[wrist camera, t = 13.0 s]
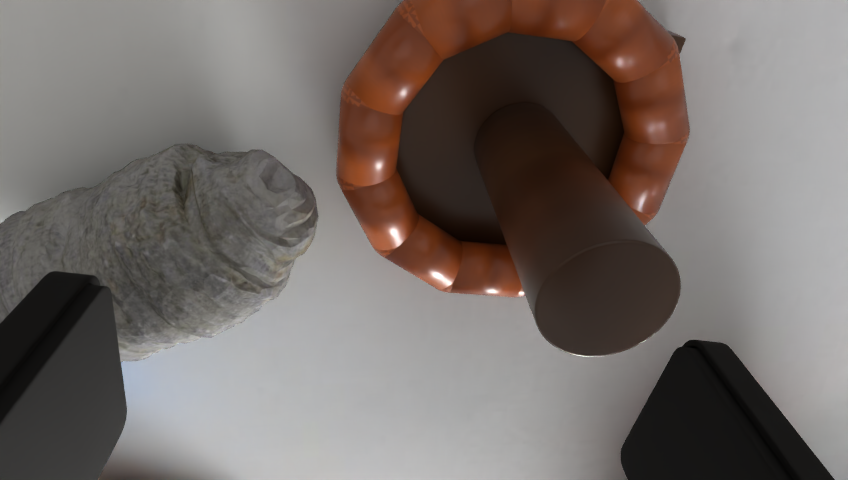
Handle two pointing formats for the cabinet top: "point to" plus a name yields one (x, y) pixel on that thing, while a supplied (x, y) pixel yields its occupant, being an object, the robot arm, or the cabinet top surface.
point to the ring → (466, 28)
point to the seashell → (168, 242)
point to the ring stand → (540, 186)
